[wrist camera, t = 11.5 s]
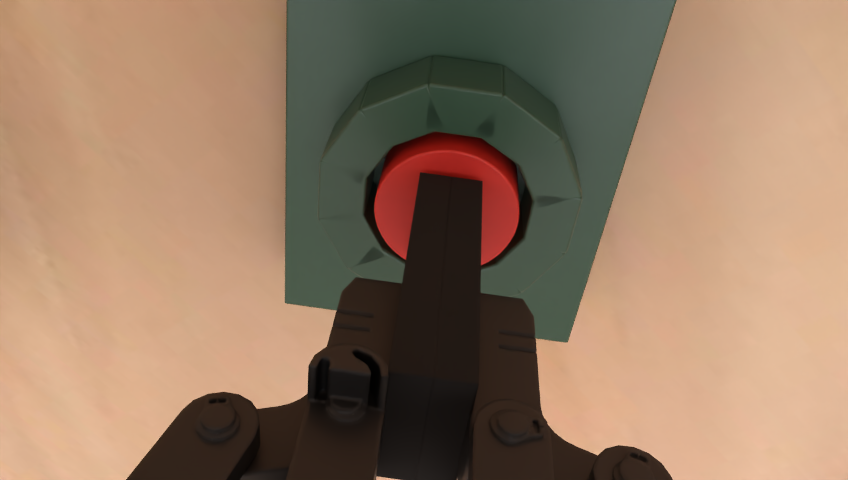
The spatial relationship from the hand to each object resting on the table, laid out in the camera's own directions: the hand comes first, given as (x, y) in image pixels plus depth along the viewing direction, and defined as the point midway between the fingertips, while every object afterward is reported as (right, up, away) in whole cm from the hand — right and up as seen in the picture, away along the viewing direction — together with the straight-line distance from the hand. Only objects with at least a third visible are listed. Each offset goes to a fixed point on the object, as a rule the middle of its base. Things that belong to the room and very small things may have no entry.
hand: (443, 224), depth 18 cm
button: (0, +1, +2) cm, 2 cm away
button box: (0, +3, +4) cm, 5 cm away
